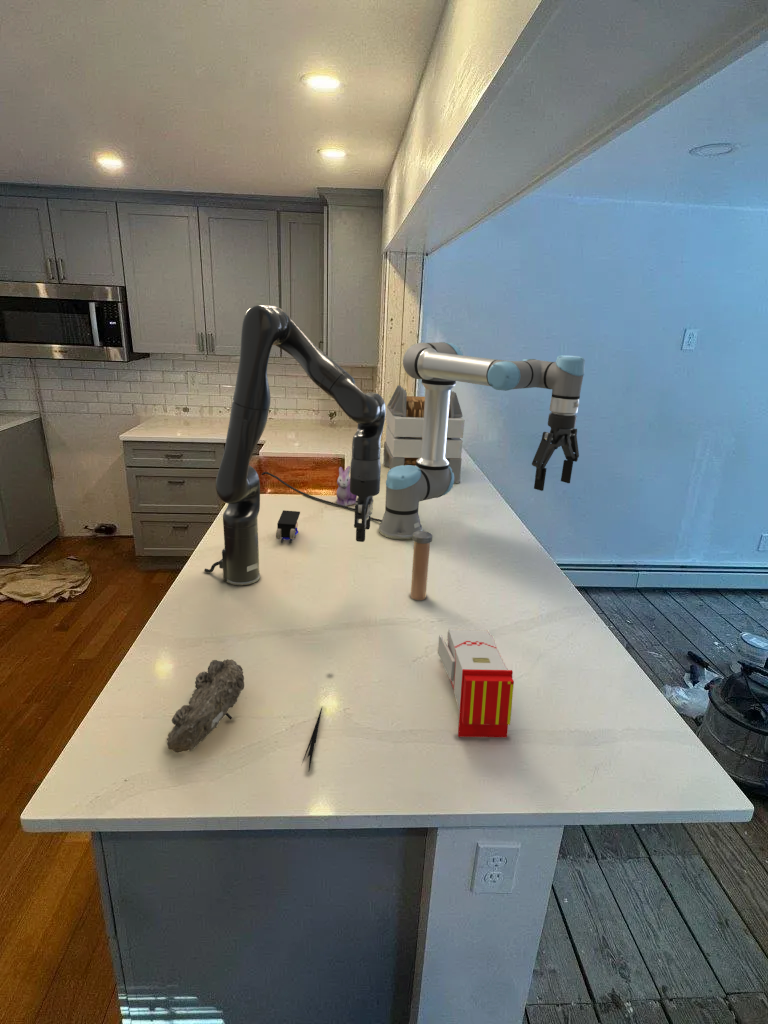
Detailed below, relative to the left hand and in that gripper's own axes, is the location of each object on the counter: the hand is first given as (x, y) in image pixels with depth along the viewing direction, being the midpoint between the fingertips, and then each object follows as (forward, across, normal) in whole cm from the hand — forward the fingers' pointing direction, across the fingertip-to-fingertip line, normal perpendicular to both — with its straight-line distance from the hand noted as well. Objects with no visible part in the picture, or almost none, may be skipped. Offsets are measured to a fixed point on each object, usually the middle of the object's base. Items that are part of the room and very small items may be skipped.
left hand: (363, 534), depth 147 cm
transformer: (+19, -131, +7) cm, 133 cm away
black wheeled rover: (+20, -38, -31) cm, 53 cm away
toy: (+19, +34, +29) cm, 48 cm away
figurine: (+20, -79, -19) cm, 83 cm away
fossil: (+19, +50, -20) cm, 58 cm away
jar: (+19, -6, +15) cm, 25 cm away
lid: (+1, -6, +15) cm, 16 cm away
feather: (+19, +48, 0) cm, 51 cm away
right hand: (-9, -29, +51) cm, 59 cm away
